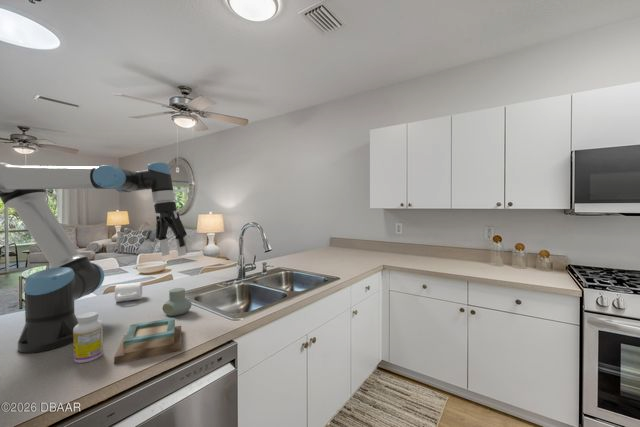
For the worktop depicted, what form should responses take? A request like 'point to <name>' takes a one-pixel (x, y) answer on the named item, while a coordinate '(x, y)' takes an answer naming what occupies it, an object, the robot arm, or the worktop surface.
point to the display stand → (149, 340)
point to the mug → (128, 292)
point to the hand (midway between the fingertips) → (174, 255)
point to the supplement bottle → (87, 338)
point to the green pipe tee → (177, 303)
